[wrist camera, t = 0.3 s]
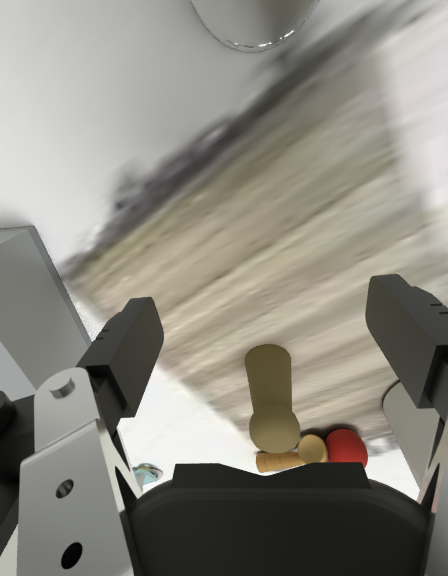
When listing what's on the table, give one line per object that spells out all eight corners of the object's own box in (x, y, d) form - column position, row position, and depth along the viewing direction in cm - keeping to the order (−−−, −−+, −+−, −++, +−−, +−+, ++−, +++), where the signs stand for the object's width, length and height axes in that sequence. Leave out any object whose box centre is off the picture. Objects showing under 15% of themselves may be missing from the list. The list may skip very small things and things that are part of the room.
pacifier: (169, 472, 55) (148, 460, 53) (162, 510, 50) (138, 499, 48) (144, 480, 58) (123, 469, 56) (135, 517, 53) (111, 506, 50)
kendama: (273, 457, 52) (372, 447, 44) (269, 493, 47) (381, 490, 38) (252, 430, 50) (352, 414, 42) (245, 465, 45) (358, 455, 36)
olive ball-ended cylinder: (249, 378, 38) (251, 463, 29) (240, 347, 35) (239, 431, 26) (293, 373, 37) (309, 460, 28) (288, 341, 34) (305, 426, 25)
